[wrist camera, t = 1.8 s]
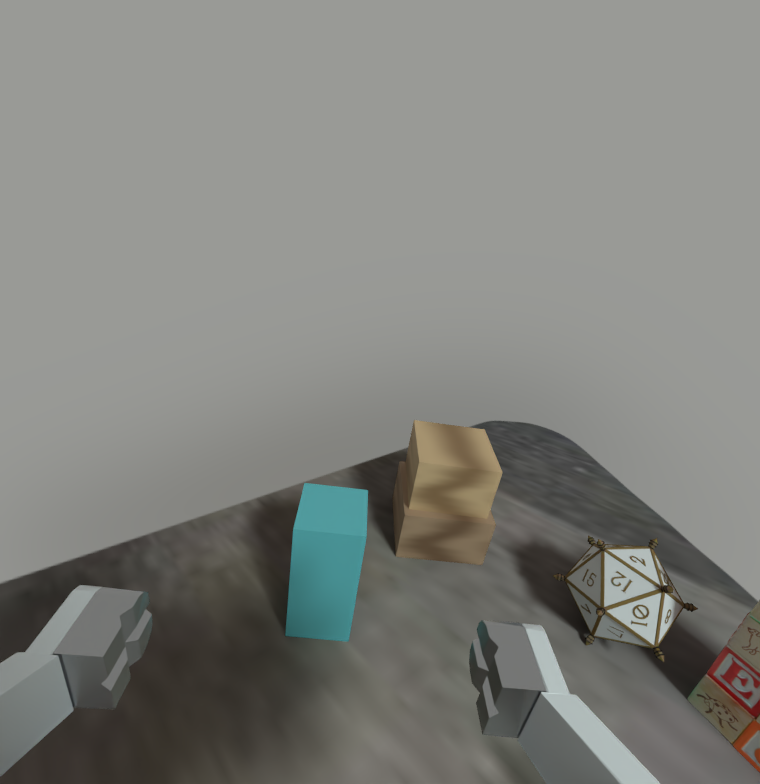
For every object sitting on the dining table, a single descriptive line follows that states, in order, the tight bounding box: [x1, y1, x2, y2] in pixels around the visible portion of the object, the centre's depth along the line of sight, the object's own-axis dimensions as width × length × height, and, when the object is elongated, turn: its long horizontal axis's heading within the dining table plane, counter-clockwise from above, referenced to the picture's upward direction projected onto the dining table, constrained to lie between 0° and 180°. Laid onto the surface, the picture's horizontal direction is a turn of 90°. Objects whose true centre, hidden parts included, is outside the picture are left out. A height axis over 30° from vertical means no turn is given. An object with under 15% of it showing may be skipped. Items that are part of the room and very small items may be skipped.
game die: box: [553, 536, 698, 662], centre depth 33 cm, size 9×8×10 cm
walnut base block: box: [392, 461, 496, 565], centre depth 41 cm, size 8×8×5 cm
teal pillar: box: [285, 483, 368, 642], centre depth 30 cm, size 4×4×10 cm
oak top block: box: [405, 420, 502, 519], centre depth 39 cm, size 7×7×5 cm
